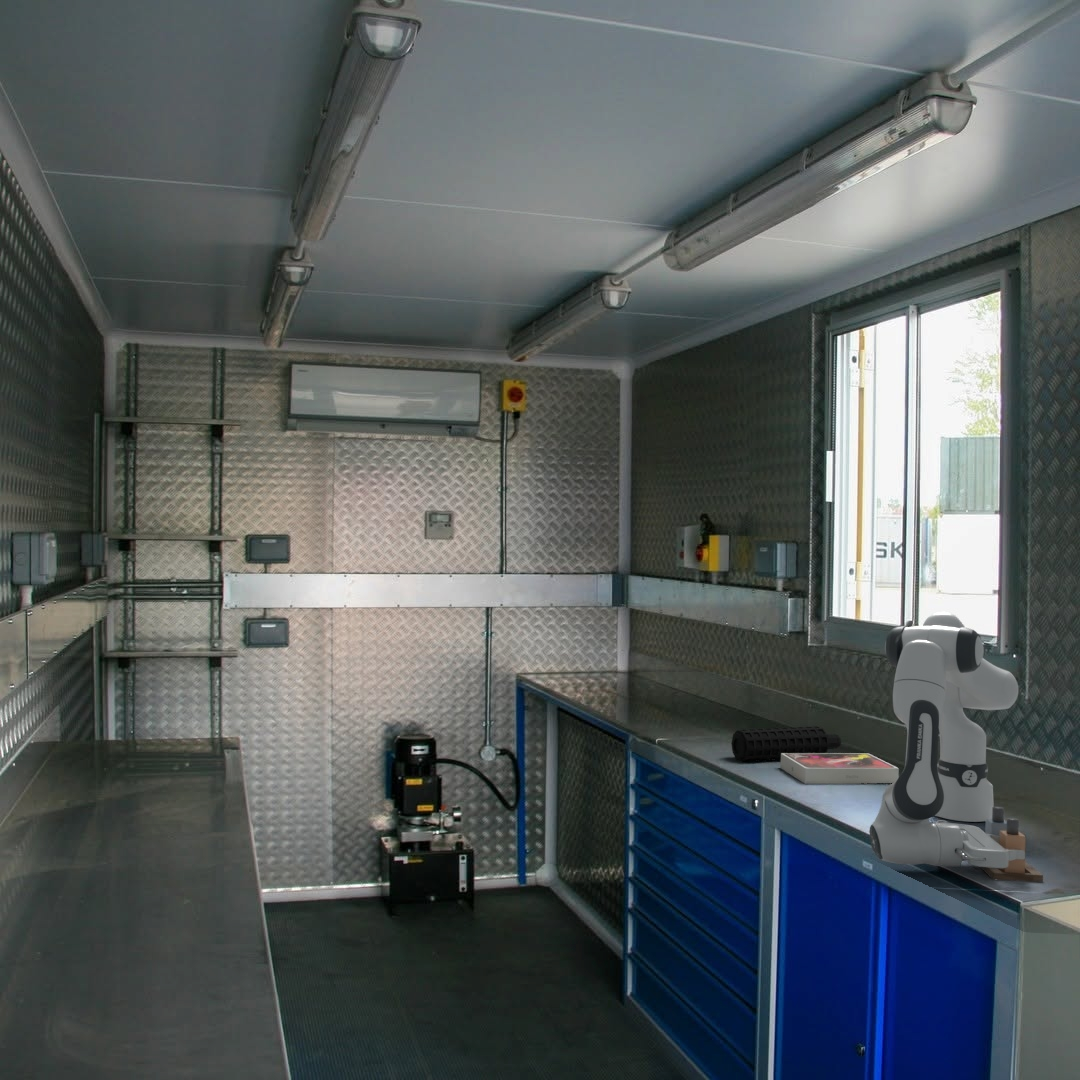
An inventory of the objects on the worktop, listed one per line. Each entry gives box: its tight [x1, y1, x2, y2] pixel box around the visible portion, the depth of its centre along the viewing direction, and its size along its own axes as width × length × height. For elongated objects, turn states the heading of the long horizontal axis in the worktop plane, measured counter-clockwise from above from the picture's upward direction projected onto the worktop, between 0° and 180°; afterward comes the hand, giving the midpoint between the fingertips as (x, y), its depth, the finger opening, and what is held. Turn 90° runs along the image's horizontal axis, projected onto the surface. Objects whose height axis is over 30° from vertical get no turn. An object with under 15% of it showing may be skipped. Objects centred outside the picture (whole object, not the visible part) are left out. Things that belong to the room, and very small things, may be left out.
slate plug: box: [984, 806, 1007, 836], centre depth 241 cm, size 4×4×12 cm
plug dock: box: [980, 860, 1044, 883], centre depth 241 cm, size 26×10×2 cm, turn 176°
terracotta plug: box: [999, 817, 1026, 873], centre depth 232 cm, size 4×4×12 cm
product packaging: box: [780, 752, 900, 785], centre depth 328 cm, size 22×28×5 cm
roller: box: [731, 726, 842, 763], centre depth 353 cm, size 38×10×10 cm, turn 110°
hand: (1015, 847), depth 232 cm, fingers open, 8 cm apart
